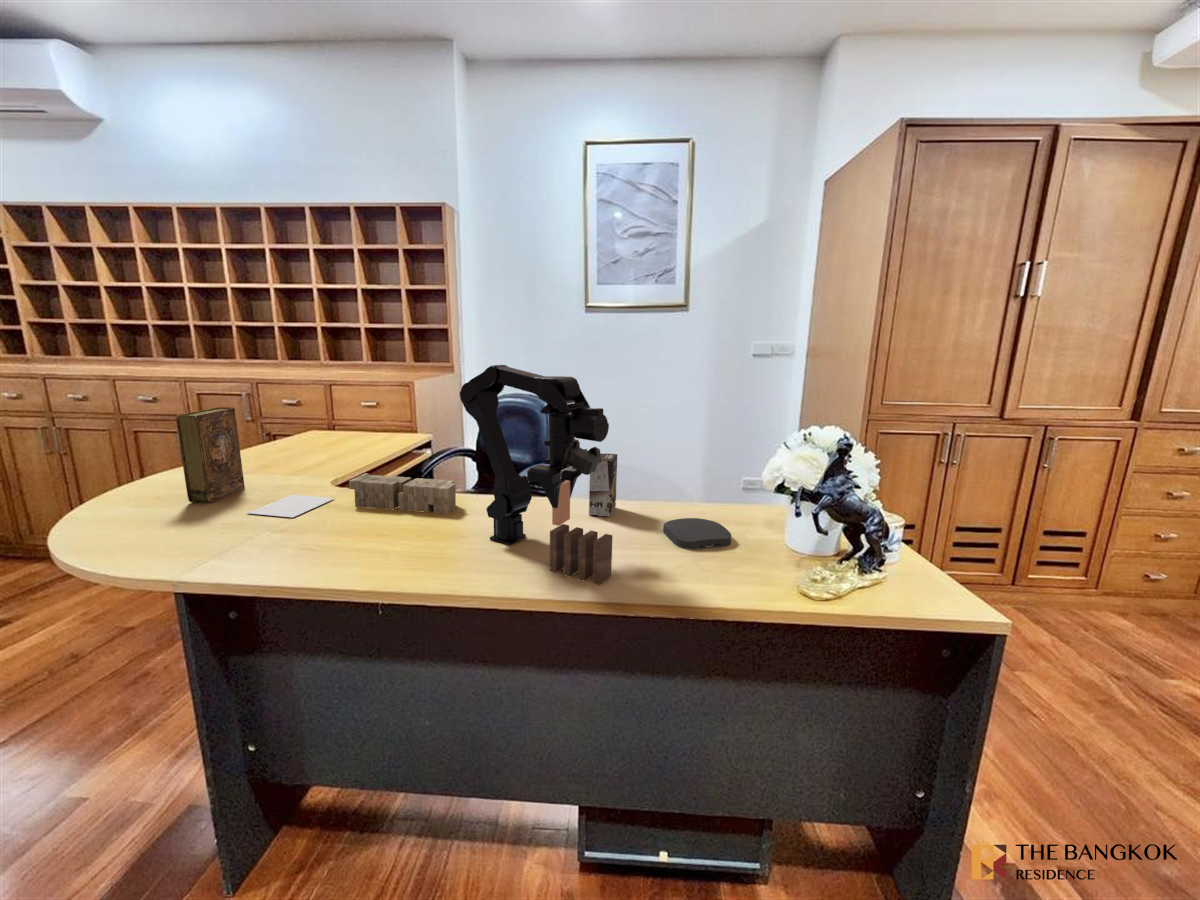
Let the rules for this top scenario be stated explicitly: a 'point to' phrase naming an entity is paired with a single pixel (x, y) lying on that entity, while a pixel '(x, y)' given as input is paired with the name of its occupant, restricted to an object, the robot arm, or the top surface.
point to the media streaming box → (697, 533)
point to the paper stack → (291, 506)
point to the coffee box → (603, 486)
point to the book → (210, 453)
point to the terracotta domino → (562, 505)
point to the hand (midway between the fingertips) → (561, 504)
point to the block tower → (404, 493)
